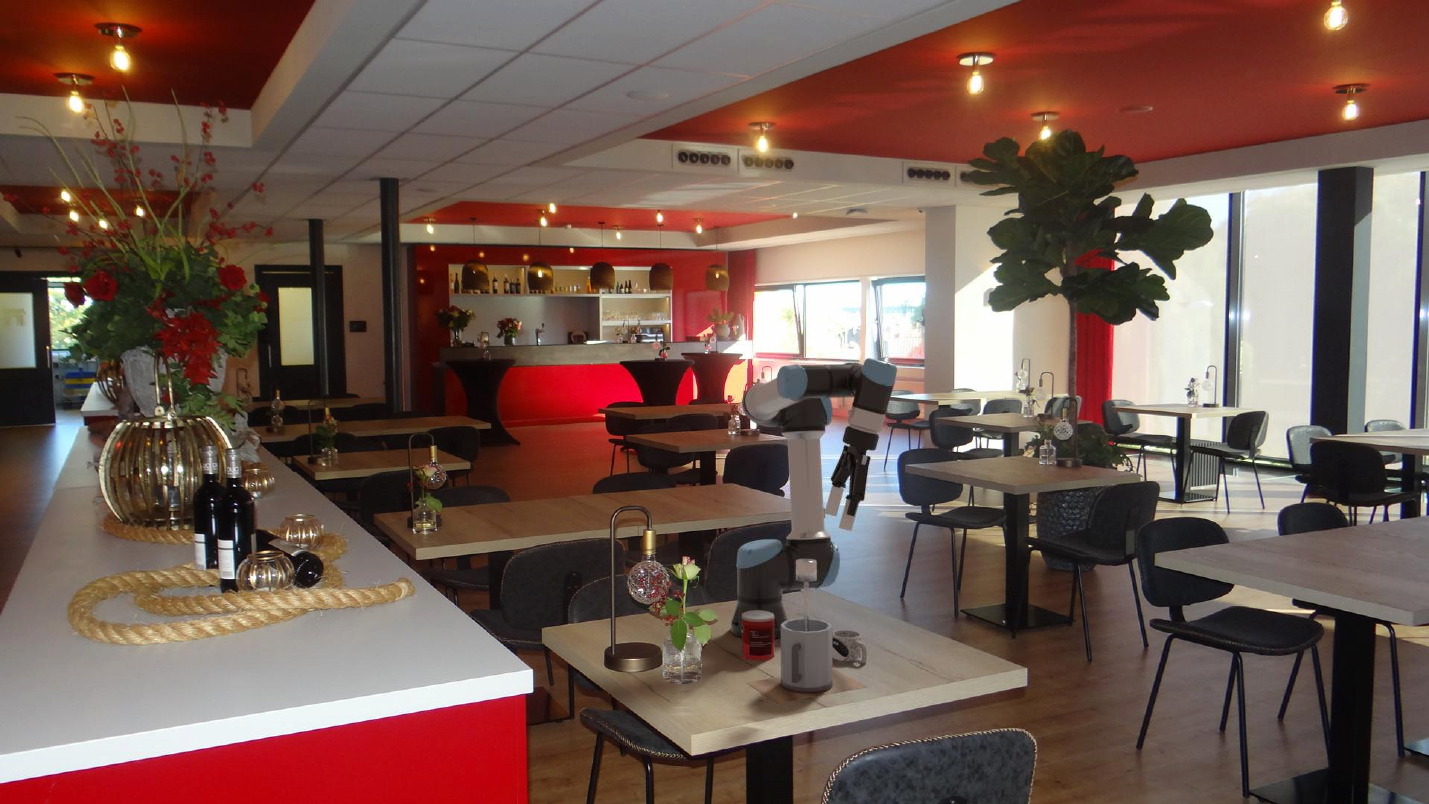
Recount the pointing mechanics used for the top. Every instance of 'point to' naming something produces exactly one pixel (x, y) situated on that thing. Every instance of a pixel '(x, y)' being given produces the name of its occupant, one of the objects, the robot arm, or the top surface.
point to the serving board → (781, 695)
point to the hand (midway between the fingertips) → (837, 522)
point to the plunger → (806, 583)
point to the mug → (848, 646)
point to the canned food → (758, 635)
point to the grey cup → (806, 656)
